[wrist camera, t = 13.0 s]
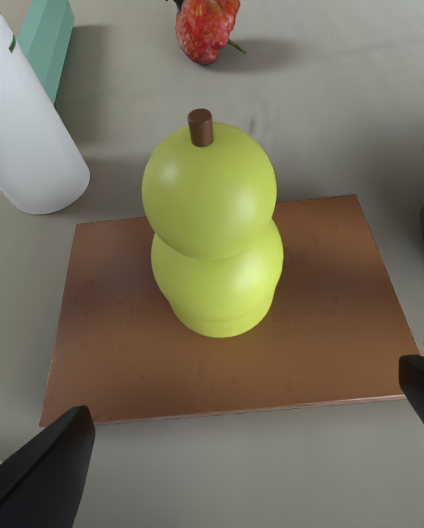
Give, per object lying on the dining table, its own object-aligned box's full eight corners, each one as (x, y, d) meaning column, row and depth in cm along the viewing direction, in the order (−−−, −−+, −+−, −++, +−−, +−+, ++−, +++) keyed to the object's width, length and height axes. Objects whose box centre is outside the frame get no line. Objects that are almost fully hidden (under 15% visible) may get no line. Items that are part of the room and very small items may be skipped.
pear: (298, 283, 18) (367, 102, 8) (222, 365, 16) (195, 255, 6) (219, 224, 21) (201, 33, 11) (145, 289, 19) (42, 126, 9)
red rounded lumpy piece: (232, 56, 40) (163, 3, 36) (270, 4, 34) (192, -68, 30) (223, 97, 37) (147, 44, 33) (263, 48, 31) (176, -25, 27)
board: (411, 398, 17) (436, 393, 15) (62, 428, 18) (37, 427, 16) (345, 215, 24) (355, 193, 21) (90, 242, 24) (75, 223, 22)
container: (26, -30, 38) (-31, 81, 25) (78, -13, 40) (50, 98, 27) (34, 25, 42) (-11, 141, 30) (80, 37, 44) (57, 152, 32)
